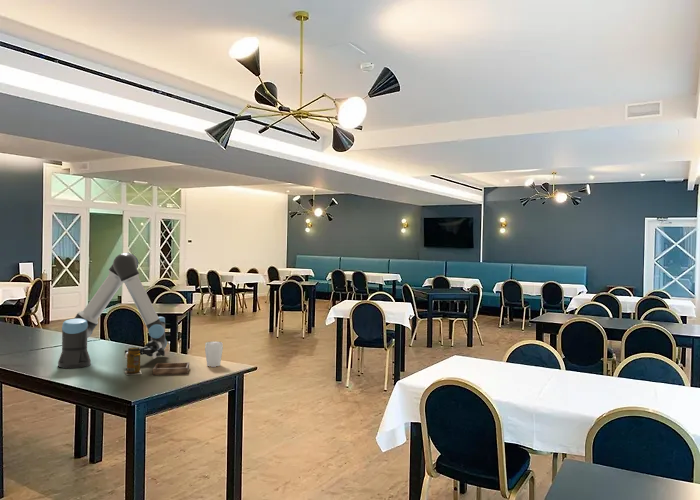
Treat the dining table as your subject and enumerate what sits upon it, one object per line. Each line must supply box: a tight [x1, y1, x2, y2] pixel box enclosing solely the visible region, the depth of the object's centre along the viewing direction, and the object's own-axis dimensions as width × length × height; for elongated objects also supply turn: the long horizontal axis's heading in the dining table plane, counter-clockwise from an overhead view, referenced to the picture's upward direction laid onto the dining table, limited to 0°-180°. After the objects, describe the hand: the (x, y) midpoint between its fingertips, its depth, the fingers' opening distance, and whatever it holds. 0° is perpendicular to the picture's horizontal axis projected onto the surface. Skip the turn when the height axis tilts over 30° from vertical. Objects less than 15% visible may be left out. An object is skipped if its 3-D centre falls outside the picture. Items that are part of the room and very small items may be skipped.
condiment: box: [124, 347, 143, 376], centre depth 270 cm, size 7×8×12 cm
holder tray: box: [152, 362, 190, 376], centre depth 274 cm, size 16×13×3 cm
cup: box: [204, 340, 224, 368], centre depth 289 cm, size 9×9×12 cm
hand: (139, 356), depth 277 cm, fingers open, 13 cm apart
